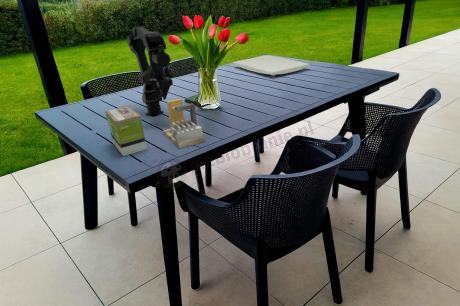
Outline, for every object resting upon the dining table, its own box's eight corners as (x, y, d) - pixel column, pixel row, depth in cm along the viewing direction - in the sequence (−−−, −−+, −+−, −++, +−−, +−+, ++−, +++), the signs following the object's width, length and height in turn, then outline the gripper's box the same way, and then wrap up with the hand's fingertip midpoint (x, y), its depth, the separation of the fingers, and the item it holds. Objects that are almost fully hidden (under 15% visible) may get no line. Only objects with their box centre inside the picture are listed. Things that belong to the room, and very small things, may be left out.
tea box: (112, 144, 147) (104, 110, 141) (135, 137, 152) (129, 104, 145) (122, 157, 135) (114, 120, 129) (147, 149, 140) (141, 114, 133)
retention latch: (170, 129, 152) (165, 100, 146) (183, 126, 155) (179, 97, 149) (175, 134, 148) (170, 104, 142) (188, 130, 150) (184, 101, 145)
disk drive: (216, 104, 188) (199, 98, 198) (216, 98, 187) (199, 93, 197) (200, 109, 182) (184, 102, 192) (200, 103, 181) (183, 97, 191)
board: (233, 68, 258) (232, 62, 256) (268, 61, 273) (268, 55, 271) (272, 79, 223) (272, 72, 221) (309, 70, 238) (310, 63, 236)
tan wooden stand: (163, 133, 154) (158, 102, 147) (186, 127, 158) (182, 96, 152) (179, 148, 139) (175, 114, 133) (205, 141, 144) (201, 107, 137)
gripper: (132, 62, 158) (138, 96, 165) (145, 69, 143) (151, 106, 150) (155, 58, 163) (160, 91, 170) (170, 65, 148) (175, 101, 155)
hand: (161, 97), depth 161 cm, fingers open, 7 cm apart
